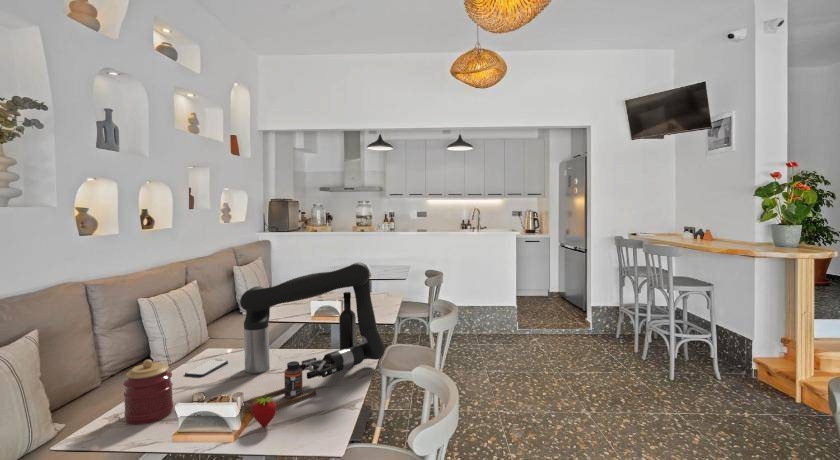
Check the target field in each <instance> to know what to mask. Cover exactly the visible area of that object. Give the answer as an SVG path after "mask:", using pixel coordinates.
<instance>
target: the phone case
mask: <svg viewBox="0 0 840 460" xmlns="http://www.w3.org/2000/svg"><path fill="white" fill-rule="evenodd" d="M227 364H228V365H229V361H228V360H227V359H217V358H216V359H215V358H212V359H209V360H207V361H205V362H203V363H201V364H200V365H197V366H195V367H194V368H192V369H190V370H188V371H185V373H184V377H191V378H192V377H193V378H203V377H204V378H205V377H206V376H208V375H209V374H212V373H214V372H215V371H217V370H219V369H220V368H223V367H224V366H226V365H227Z"/></svg>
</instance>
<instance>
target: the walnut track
mask: <svg viewBox="0 0 840 460" xmlns="http://www.w3.org/2000/svg"><path fill="white" fill-rule="evenodd" d="M281 394H285V387H283V388H280V389H277V390H274V391H271V392H267V393H265V394H263V395H259V396H255V397H252V398H250V399H247V400H245V401H242V402H243V403H244V406H243V408H245V409H247V410H248V411H250V412H251V410H252V406H253V404H254V403H255V402H257V400H256V399H261V398H264V399H265V400H266V398H268V397H271V398H273V397H275V396H278V395H281ZM265 395H266V397H265ZM315 396H317V391H316V390H312V391H310V392H306V393H303V394H302V395H301V396H298V397H295V398H289V399H288V400H284V401H282V402H280V403H277V404H276V403H275V404H276V408H277V409H276V411H277V410H279V409H282V408H284V407H288V406H291V405H292V404H296V403H298V402H301V401H303V400H306V399H309V398H312V397H315Z"/></svg>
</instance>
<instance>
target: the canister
mask: <svg viewBox="0 0 840 460" xmlns="http://www.w3.org/2000/svg"><path fill="white" fill-rule="evenodd" d="M169 368H170V366H169V365H167V364H164V363H162V362H155V361H154V362H153V361H152V360H151V359H145V360H144V361H143V362H142V364H140V365H139V364H138V365H137V366H134V367H133V368H132V369H130V370H129V371H128V372H127V373H126V375H125V376H126V378H125V380H123V382H122V385H123V386H124V387H125V389H124V391H123V398H124V401H123V402H124V415H123V416H124V420H125V422H126V423H128V424H130V425H144V424H149V423H154V422H157V421H159V420H162V419H164V418H166V417H168V416H169V415H171V413H173V411H174V410H173V408H174V400H173V382H172V381H171V378H172V377H173V372H172V371H170V370H169Z"/></svg>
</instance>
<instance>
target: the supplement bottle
mask: <svg viewBox="0 0 840 460" xmlns="http://www.w3.org/2000/svg"><path fill="white" fill-rule="evenodd" d="M286 365H287V366H286V368H285V370H284V374H283V375H284V376H283V377H284V388H285V393H284V397H285V398H287V399H293V398H295V397H298V396H301V395H303V391H304V390H303V371H302V369H301V368H300V367H299V365H300V362H299V361H297V360H296V361H295V360H294V361H289V362H287V364H286Z"/></svg>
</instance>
